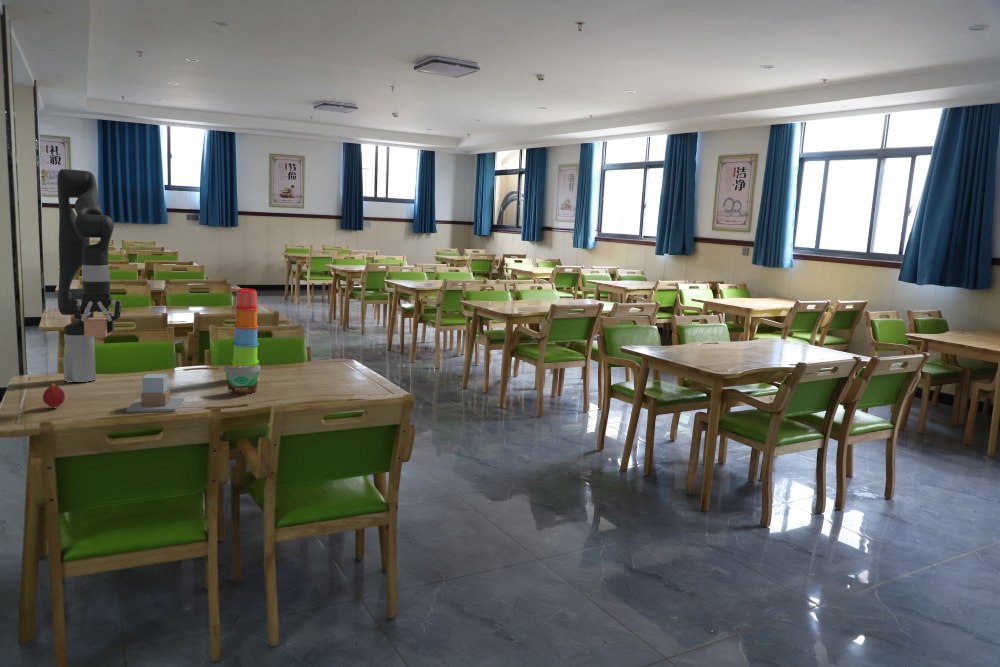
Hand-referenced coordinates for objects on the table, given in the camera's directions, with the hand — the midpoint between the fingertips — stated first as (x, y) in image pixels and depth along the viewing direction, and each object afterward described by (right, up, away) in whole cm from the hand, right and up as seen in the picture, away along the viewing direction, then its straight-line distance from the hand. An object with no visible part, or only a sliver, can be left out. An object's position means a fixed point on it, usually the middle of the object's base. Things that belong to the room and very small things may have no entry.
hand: (98, 332), depth 231 cm
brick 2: (+16, -19, +4) cm, 25 cm away
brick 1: (0, -1, 0) cm, 1 cm away
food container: (+37, -22, +26) cm, 50 cm away
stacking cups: (+30, -18, +46) cm, 58 cm away
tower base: (+16, -24, +5) cm, 29 cm away
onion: (-12, -24, -3) cm, 27 cm away
